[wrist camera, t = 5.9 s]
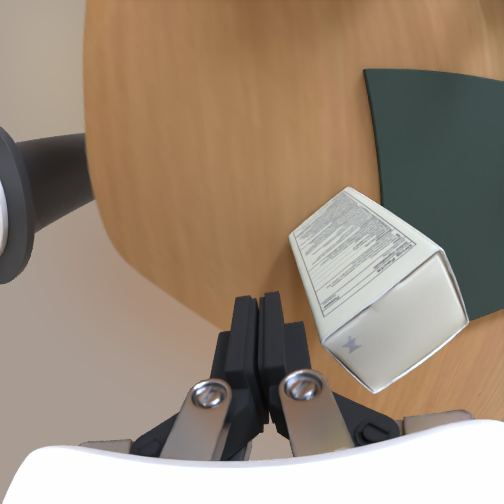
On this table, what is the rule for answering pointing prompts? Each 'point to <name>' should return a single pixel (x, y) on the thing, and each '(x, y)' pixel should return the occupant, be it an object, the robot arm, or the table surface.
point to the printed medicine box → (375, 289)
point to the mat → (446, 170)
